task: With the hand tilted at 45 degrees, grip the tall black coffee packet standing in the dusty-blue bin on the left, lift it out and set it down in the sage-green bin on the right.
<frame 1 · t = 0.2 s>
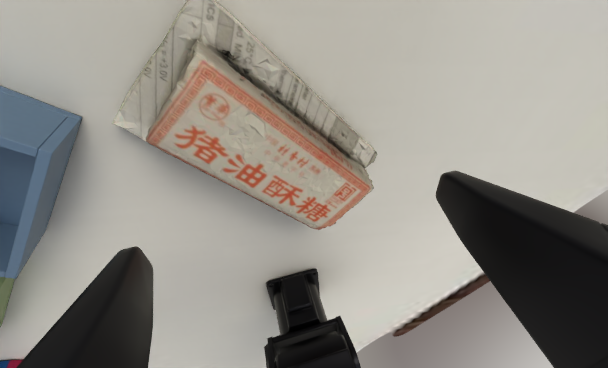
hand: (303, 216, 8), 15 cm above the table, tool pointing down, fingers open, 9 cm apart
packaged product: (265, 132, 23), on the table
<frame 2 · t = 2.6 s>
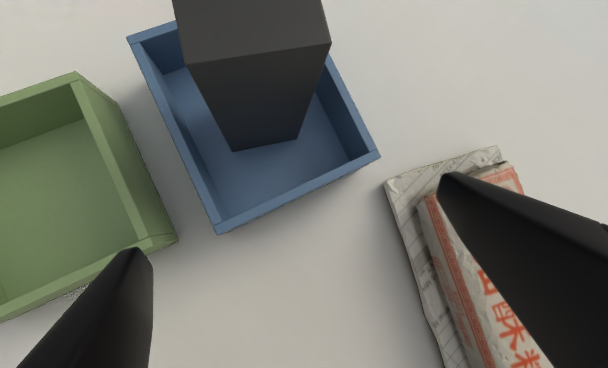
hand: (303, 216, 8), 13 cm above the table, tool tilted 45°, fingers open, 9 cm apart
green bin: (68, 203, 20), on the table
blue bin: (259, 123, 22), on the table
packaged product: (468, 269, 23), on the table
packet: (259, 120, 21), point 1 cm above the table, touching blue bin
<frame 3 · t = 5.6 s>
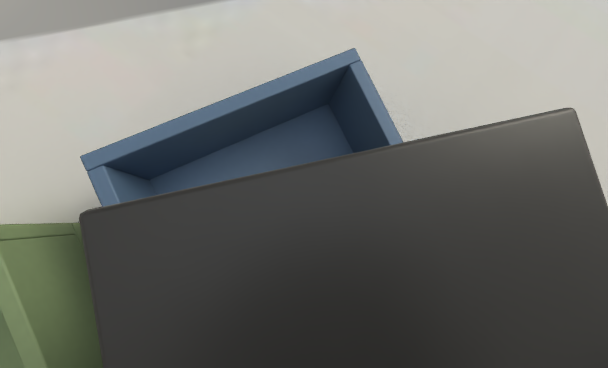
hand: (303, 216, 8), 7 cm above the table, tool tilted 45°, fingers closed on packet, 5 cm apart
blue bin: (293, 243, 15), on the table
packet: (294, 244, 14), point 1 cm above the table, touching blue bin, gripper
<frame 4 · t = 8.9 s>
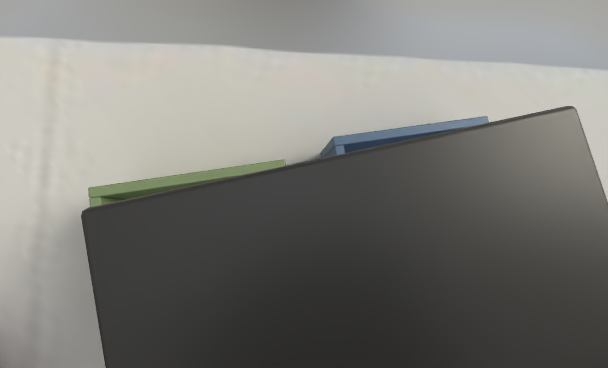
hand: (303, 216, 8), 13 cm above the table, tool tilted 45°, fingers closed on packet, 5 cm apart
green bin: (217, 257, 21), on the table
blue bin: (401, 222, 23), on the table
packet: (294, 244, 14), point 7 cm above the table, touching gripper
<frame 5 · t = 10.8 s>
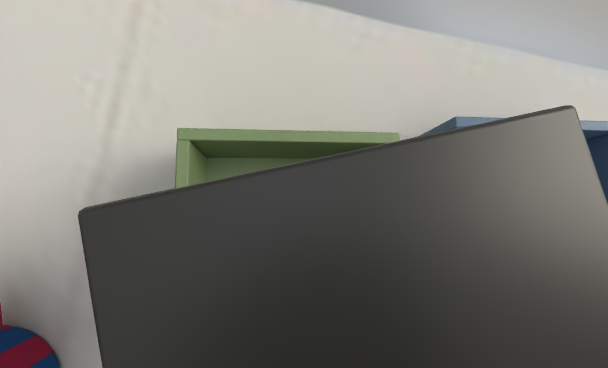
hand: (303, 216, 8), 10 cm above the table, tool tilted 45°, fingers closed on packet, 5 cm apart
green bin: (288, 236, 18), on the table
mug: (9, 356, 15), on the table
blue bin: (493, 231, 20), on the table
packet: (293, 244, 14), point 4 cm above the table, touching gripper
when the fingers open (7 cm above the table, at t = 12.2 s): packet stays where it is, resting on green bin.
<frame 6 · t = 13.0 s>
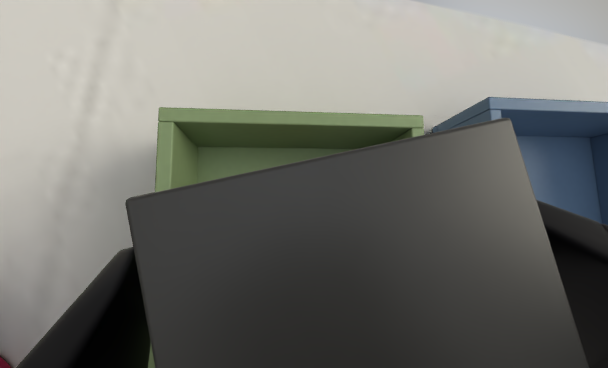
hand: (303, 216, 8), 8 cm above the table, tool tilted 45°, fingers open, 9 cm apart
green bin: (291, 238, 16), on the table
blue bin: (523, 232, 18), on the table
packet: (292, 239, 15), point 1 cm above the table, touching green bin
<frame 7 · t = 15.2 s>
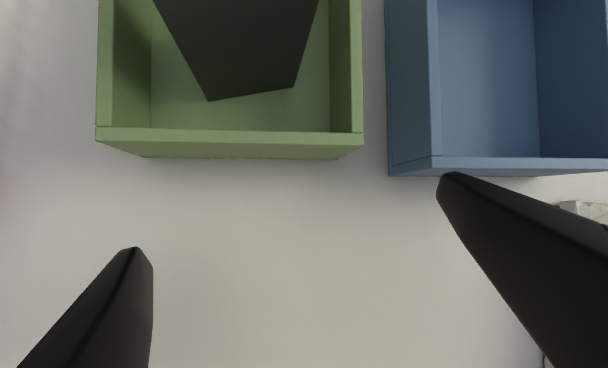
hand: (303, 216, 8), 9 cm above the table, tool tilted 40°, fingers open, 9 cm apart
green bin: (245, 65, 17), on the table
blue bin: (463, 78, 19), on the table
packaged product: (602, 334, 20), on the table
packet: (244, 61, 16), point 1 cm above the table, touching green bin
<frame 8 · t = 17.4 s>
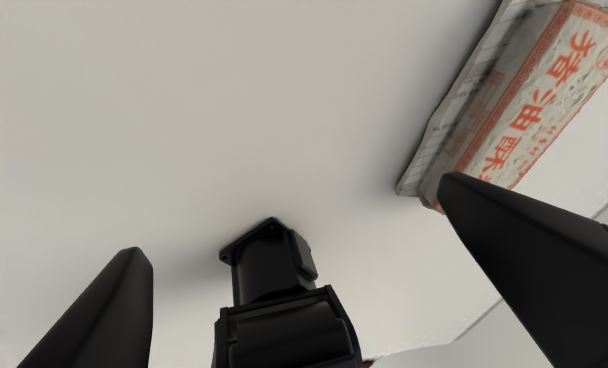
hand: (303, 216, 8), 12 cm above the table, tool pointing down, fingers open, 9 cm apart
packaged product: (485, 105, 23), on the table
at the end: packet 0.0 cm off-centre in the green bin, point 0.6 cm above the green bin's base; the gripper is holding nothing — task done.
